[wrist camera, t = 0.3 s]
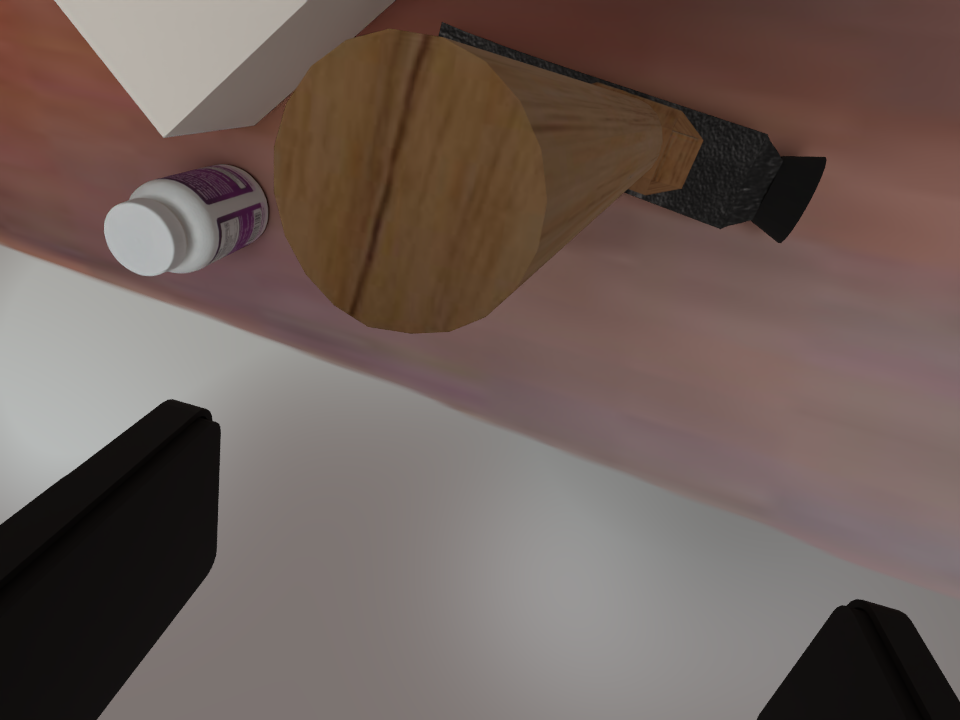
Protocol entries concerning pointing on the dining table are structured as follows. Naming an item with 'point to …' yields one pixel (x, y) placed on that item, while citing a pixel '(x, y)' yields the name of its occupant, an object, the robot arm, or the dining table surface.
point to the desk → (214, 52)
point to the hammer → (491, 172)
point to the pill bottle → (186, 220)
